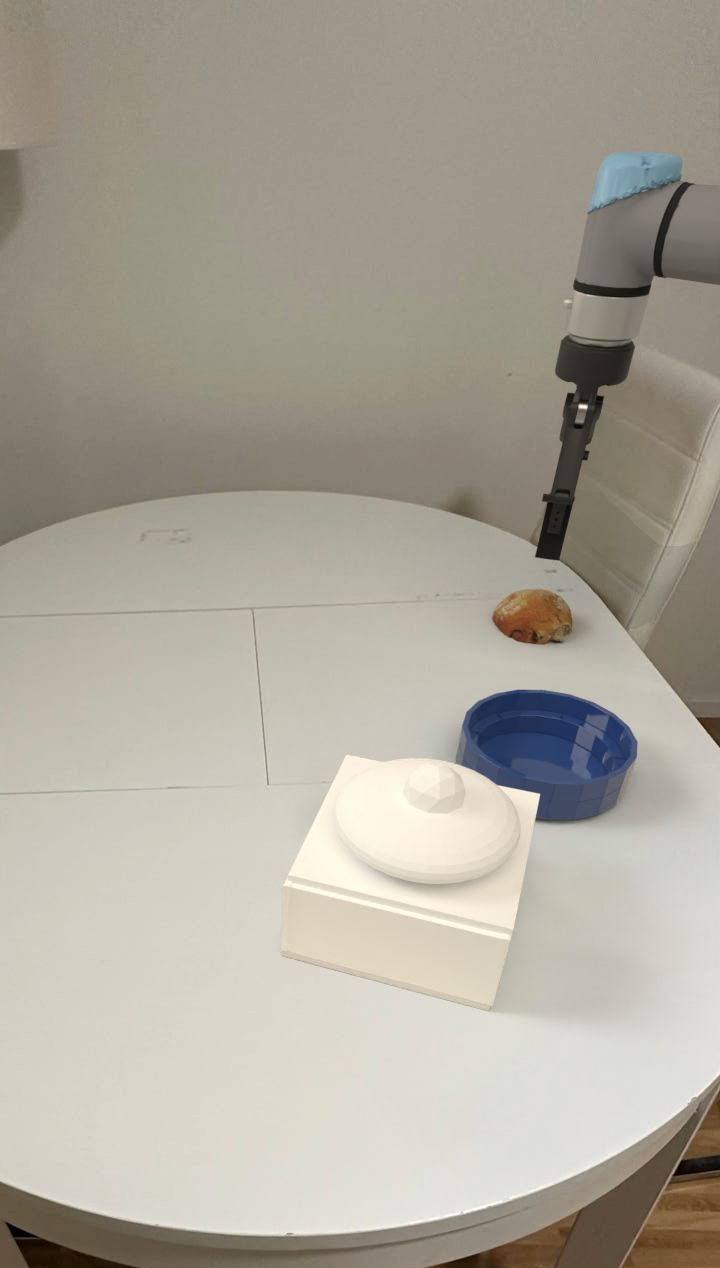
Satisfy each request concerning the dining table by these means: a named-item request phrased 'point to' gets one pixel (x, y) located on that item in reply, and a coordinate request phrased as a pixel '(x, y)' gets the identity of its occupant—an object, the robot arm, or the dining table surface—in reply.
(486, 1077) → the dining table surface
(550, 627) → the bread roll
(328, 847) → the white lidded square jar
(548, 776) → the bowl
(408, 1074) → the dining table surface
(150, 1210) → the dining table surface
